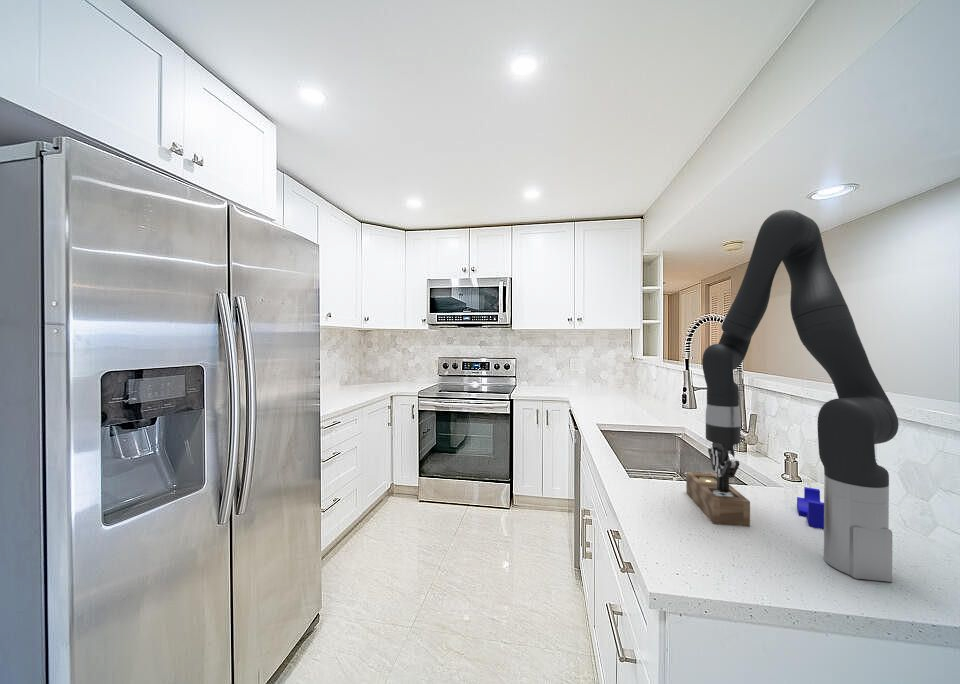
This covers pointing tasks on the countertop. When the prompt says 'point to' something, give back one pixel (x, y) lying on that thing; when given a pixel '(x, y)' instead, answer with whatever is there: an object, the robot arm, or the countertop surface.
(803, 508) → the blue block piece
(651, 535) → the countertop surface
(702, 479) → the brass peg
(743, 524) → the wooden peg holder
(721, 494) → the steel peg
